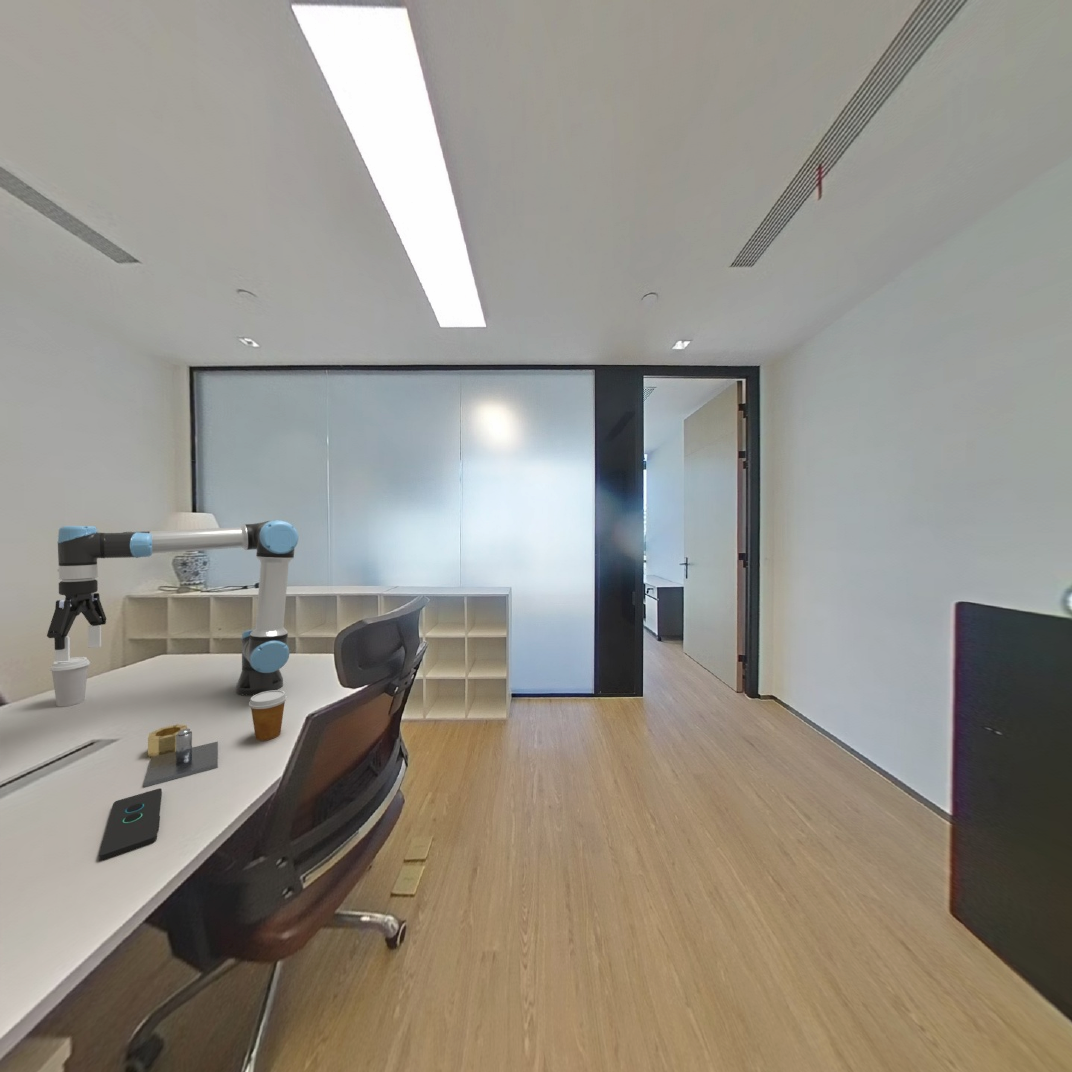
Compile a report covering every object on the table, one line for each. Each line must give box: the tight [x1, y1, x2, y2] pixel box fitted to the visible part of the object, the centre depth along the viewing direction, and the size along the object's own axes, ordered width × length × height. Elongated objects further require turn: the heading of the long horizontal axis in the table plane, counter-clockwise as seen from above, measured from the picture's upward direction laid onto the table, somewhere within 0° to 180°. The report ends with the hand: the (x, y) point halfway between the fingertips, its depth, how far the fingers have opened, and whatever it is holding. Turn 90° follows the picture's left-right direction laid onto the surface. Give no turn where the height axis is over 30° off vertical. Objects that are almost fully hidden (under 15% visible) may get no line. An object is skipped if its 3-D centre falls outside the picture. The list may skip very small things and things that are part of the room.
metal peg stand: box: [143, 728, 219, 788], centre depth 109 cm, size 14×14×9 cm
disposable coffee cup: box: [248, 689, 288, 741], centre depth 125 cm, size 10×10×12 cm
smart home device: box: [98, 787, 163, 862], centre depth 88 cm, size 8×2×20 cm
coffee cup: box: [49, 656, 91, 708], centre depth 146 cm, size 10×10×15 cm
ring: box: [147, 724, 188, 758], centre depth 117 cm, size 8×8×5 cm
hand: (79, 653), depth 120 cm, fingers open, 13 cm apart
